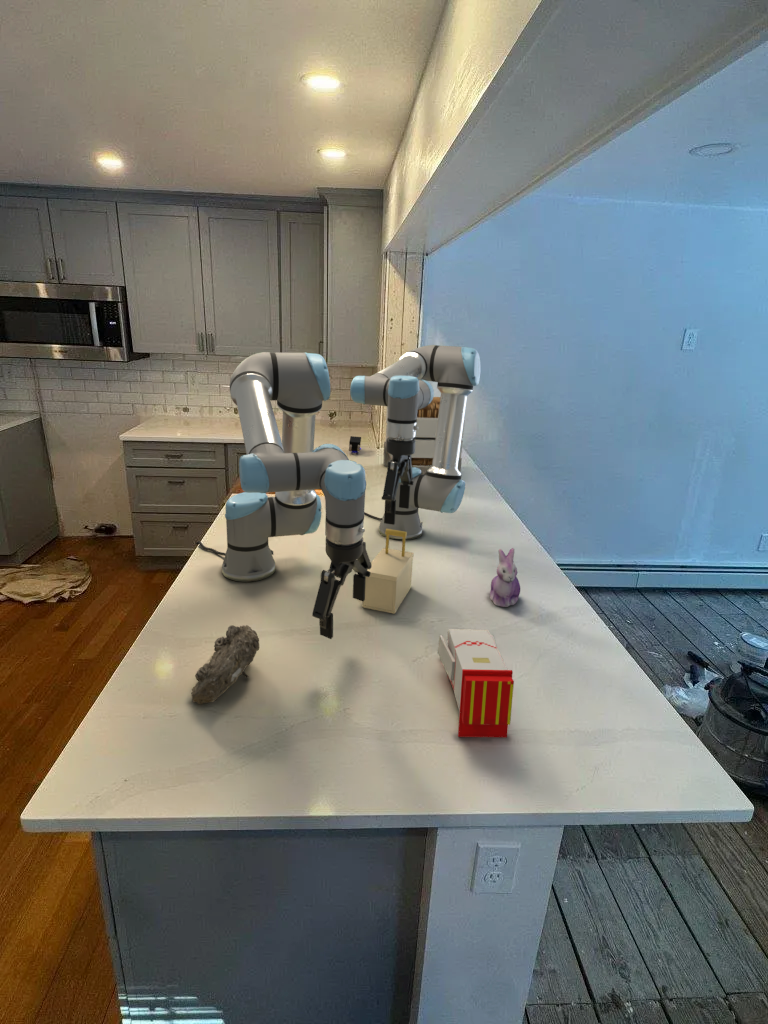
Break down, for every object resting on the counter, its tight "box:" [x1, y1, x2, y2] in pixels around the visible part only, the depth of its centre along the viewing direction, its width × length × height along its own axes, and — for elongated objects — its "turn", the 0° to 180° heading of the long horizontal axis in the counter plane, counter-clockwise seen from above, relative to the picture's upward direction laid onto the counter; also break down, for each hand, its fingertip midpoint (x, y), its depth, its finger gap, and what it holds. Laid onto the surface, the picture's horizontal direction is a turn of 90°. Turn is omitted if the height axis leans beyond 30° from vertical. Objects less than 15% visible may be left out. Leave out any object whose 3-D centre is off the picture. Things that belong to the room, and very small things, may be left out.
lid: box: [367, 529, 415, 581], centre depth 152 cm, size 17×9×8 cm, turn 162°
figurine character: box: [348, 435, 362, 455], centre depth 308 cm, size 7×8×15 cm
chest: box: [361, 557, 414, 615], centre depth 154 cm, size 16×9×9 cm, turn 162°
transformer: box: [383, 396, 465, 474], centre depth 268 cm, size 34×33×41 cm
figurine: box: [489, 547, 521, 608], centre depth 154 cm, size 9×10×15 cm
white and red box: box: [437, 628, 515, 738], centre depth 117 cm, size 12×13×30 cm
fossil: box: [191, 624, 260, 705], centre depth 119 cm, size 22×10×15 cm
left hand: (343, 616), depth 124 cm, fingers open, 13 cm apart
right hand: (396, 515), depth 153 cm, fingers open, 13 cm apart
